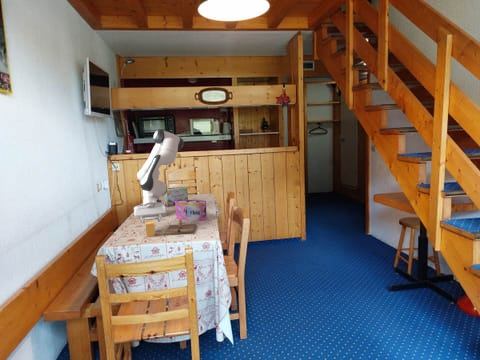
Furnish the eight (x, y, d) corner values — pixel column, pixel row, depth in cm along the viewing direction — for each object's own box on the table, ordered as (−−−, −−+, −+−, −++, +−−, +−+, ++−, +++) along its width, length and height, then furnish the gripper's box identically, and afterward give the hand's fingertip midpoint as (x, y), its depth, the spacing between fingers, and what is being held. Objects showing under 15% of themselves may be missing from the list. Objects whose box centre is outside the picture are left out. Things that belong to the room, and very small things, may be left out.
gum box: (208, 218, 236) (207, 200, 234) (203, 221, 229) (201, 202, 227) (182, 216, 246) (181, 199, 245) (176, 219, 239) (174, 201, 238)
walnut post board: (169, 227, 217) (168, 217, 216) (195, 225, 217) (195, 215, 216) (164, 235, 199) (163, 224, 198) (193, 233, 199) (192, 222, 198)
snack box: (168, 207, 284) (166, 190, 282) (165, 206, 288) (163, 189, 286) (188, 203, 298) (187, 187, 296) (185, 202, 302) (184, 186, 300)
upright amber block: (147, 234, 202) (145, 222, 201) (155, 233, 204) (154, 221, 203) (146, 236, 198) (145, 224, 197) (155, 235, 199) (154, 223, 198)
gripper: (133, 203, 206) (133, 221, 198) (165, 199, 211) (167, 217, 203) (134, 208, 211) (134, 226, 203) (165, 205, 216) (167, 222, 208)
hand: (151, 222), depth 203 cm, fingers open, 8 cm apart
